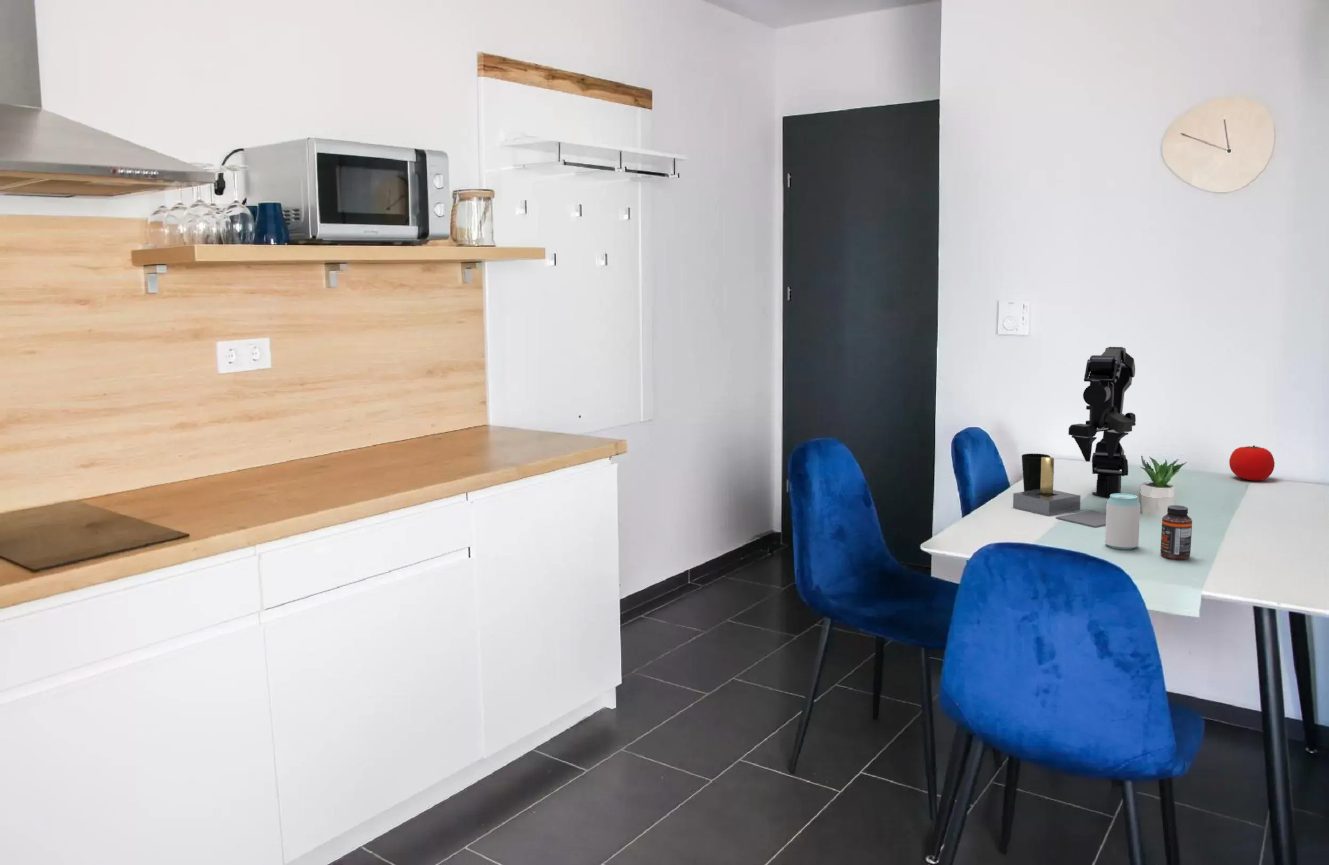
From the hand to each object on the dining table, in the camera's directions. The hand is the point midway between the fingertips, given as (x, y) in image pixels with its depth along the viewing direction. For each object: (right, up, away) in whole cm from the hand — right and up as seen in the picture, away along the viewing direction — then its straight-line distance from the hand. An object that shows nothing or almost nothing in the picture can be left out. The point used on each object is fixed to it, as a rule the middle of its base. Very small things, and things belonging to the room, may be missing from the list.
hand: (1099, 459), depth 268 cm
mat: (-7, -15, -12) cm, 20 cm away
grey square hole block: (-14, -13, +1) cm, 19 cm away
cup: (-11, -11, +16) cm, 23 cm away
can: (-12, -19, -38) cm, 44 cm away
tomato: (+60, -7, +33) cm, 69 cm away
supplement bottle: (-4, -20, -48) cm, 52 cm away
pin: (-14, -13, +1) cm, 19 cm away
